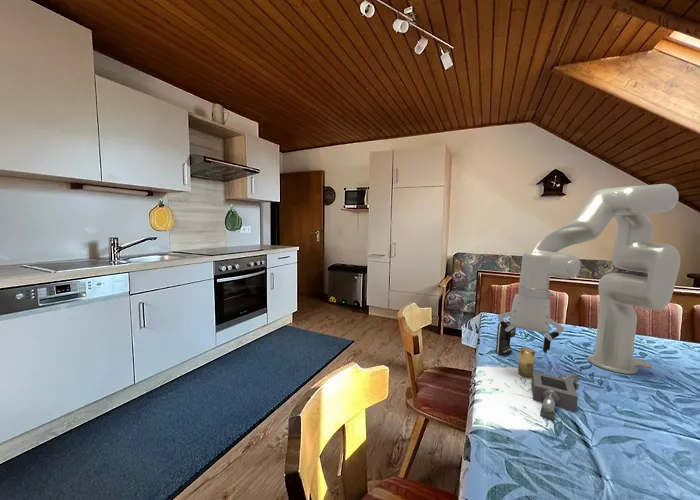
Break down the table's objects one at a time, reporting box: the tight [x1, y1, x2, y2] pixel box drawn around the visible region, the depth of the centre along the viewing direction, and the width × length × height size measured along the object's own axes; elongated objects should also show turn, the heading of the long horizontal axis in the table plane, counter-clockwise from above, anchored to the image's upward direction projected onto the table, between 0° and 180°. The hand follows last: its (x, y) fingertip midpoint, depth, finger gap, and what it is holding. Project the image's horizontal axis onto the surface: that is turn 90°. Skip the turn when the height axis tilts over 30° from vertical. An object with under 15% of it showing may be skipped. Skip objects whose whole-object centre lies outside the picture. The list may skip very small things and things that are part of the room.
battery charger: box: [495, 320, 517, 356], centre depth 107 cm, size 7×4×11 cm, turn 125°
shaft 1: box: [539, 389, 560, 421], centre depth 73 cm, size 7×4×4 cm, turn 141°
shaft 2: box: [558, 372, 580, 390], centre depth 84 cm, size 7×4×4 cm, turn 121°
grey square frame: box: [530, 371, 579, 413], centre depth 79 cm, size 9×9×4 cm
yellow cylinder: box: [517, 346, 536, 379], centre depth 91 cm, size 4×4×8 cm
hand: (526, 347), depth 90 cm, fingers open, 9 cm apart
